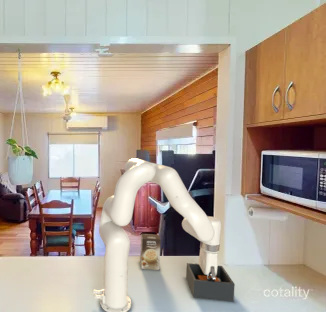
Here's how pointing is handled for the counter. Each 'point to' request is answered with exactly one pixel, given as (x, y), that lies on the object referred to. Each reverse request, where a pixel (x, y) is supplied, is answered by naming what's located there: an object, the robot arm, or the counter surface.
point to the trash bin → (210, 284)
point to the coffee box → (150, 251)
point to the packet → (206, 278)
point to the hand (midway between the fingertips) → (206, 284)
